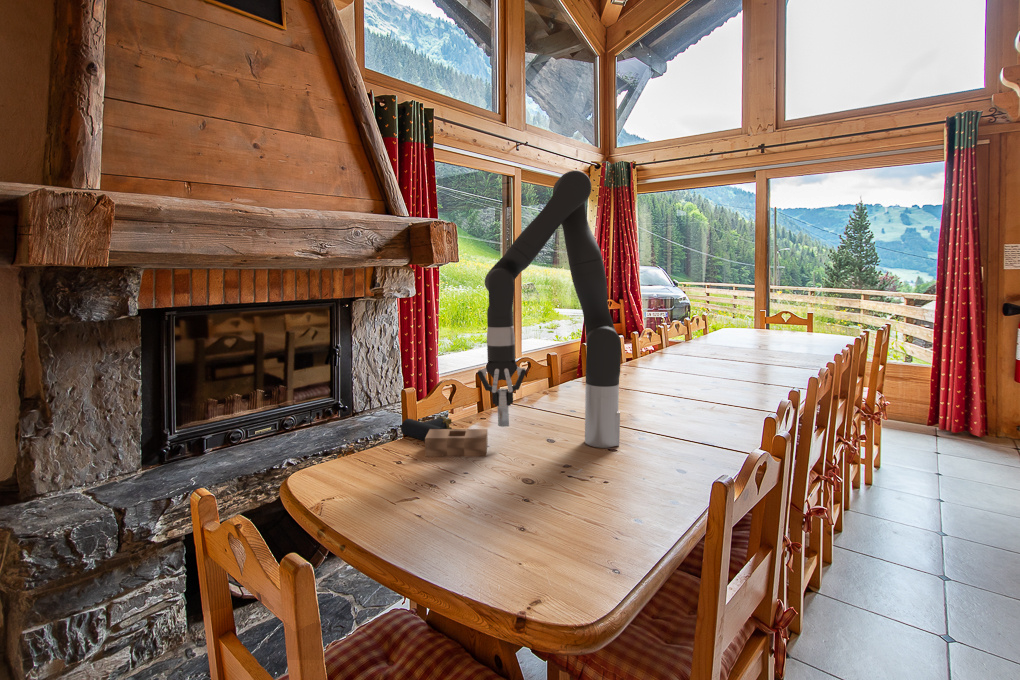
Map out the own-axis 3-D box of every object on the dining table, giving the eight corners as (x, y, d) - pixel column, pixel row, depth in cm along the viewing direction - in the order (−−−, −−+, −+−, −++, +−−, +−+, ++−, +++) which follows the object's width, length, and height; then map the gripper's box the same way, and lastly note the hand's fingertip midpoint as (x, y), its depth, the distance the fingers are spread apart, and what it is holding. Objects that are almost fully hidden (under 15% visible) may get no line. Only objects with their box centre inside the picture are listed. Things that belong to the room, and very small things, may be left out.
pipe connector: (430, 411, 167) (464, 420, 157) (431, 428, 168) (464, 437, 158) (400, 420, 158) (434, 430, 149) (401, 437, 159) (435, 448, 149)
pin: (509, 423, 150) (508, 388, 148) (509, 426, 147) (508, 390, 145) (498, 423, 150) (497, 388, 148) (498, 426, 147) (496, 390, 145)
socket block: (487, 446, 149) (487, 429, 148) (486, 456, 141) (485, 438, 141) (430, 446, 149) (429, 429, 149) (425, 456, 141) (424, 438, 141)
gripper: (526, 340, 149) (528, 401, 151) (475, 341, 149) (478, 402, 151) (527, 344, 141) (528, 408, 144) (474, 345, 141) (476, 409, 144)
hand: (502, 405), depth 147 cm, fingers closed on pin, 3 cm apart
